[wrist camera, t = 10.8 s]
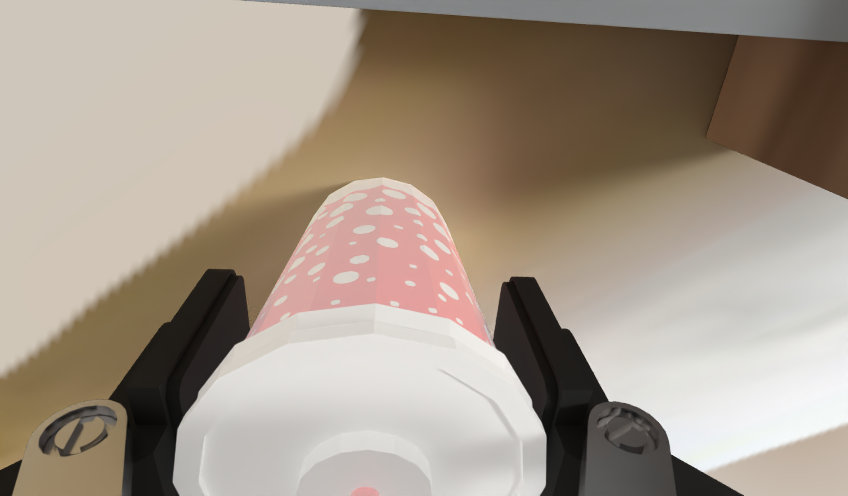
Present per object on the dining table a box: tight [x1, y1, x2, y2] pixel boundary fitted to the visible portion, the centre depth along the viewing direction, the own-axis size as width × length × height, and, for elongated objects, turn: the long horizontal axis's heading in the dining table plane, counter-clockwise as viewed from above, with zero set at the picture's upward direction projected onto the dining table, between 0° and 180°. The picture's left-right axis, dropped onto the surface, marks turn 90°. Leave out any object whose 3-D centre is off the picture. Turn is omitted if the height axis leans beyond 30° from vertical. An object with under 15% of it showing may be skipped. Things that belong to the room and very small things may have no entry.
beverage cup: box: [173, 177, 546, 496], centre depth 10 cm, size 6×6×14 cm
